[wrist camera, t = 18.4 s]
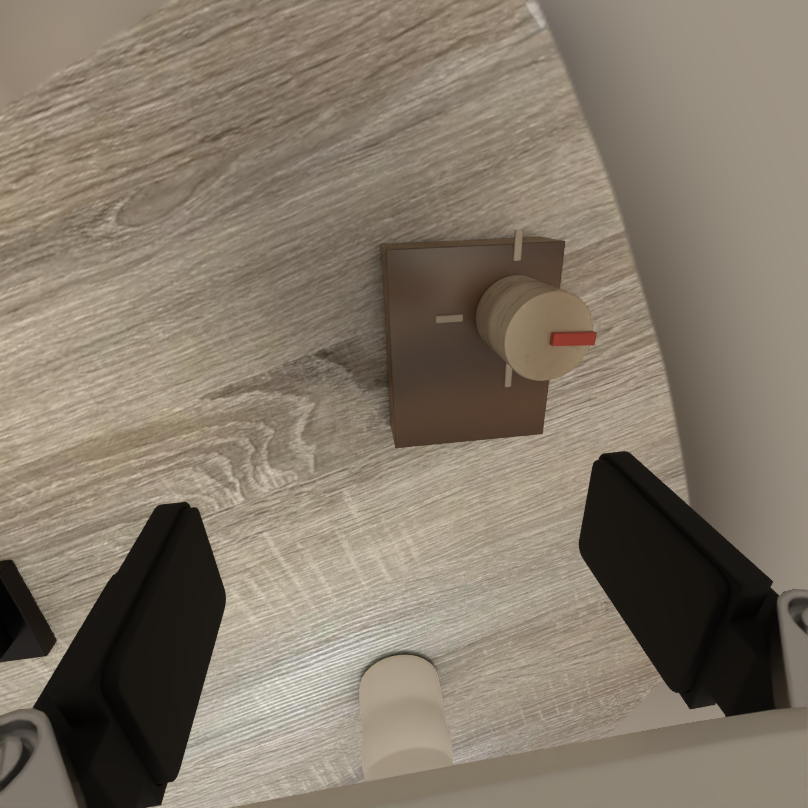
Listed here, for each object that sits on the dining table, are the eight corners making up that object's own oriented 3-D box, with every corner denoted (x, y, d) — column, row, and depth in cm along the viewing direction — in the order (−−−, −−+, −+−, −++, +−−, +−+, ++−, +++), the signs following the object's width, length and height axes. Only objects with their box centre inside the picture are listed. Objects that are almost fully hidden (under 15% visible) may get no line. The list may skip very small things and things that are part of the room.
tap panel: (379, 232, 23) (385, 236, 20) (569, 223, 24) (599, 226, 21) (390, 424, 28) (395, 449, 25) (547, 410, 29) (569, 433, 26)
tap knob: (472, 351, 23) (501, 385, 19) (478, 274, 22) (513, 292, 17) (543, 349, 24) (587, 382, 19) (554, 274, 22) (606, 292, 18)
